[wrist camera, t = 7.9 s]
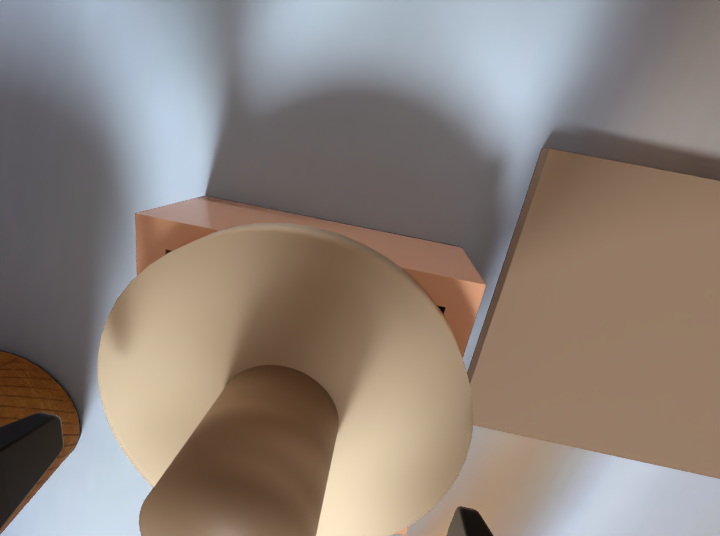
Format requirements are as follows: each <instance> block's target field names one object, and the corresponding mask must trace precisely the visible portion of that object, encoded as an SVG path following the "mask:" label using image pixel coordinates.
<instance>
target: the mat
mask: <svg viewBox="0 0 720 536" xmlns="http://www.w3.org/2000/svg"><path fill="white" fill-rule="evenodd" d="M467 374H468V379H469V383H470V388H471V392H472V400H473V417H474V419H473V425H475V426H479V427H484V428H488V429H493V430H498V431H502V432H507V433H511V434H516V435H521V436H525V437H530V438H534V439H539V440H544V441H548V442H553V443H558V444H562V445H567V446H571V447H576V448H581V449H585V450H590V451H594V452H599V453H604V454H608V455H613V456H617V457H622V458H627V459H631V460H636V461H640V462H645V463H650V464H654V465H659V466H664V467H668V468H673V469H677V470H682V471H687V472H691V473H696V474H700V475H705V476H710V477H714V478H719V479H720V181H718V180H713V179H707V178H702V177H697V176H692V175H686V174H681V173H676V172H671V171H665V170H660V169H655V168H650V167H644V166H639V165H634V164H629V163H623V162H618V161H613V160H608V159H602V158H597V157H592V156H587V155H581V154H576V153H571V152H566V151H560V150H555V149H548V148H542V150H541V153H540V156H539V159H538V162H537V165H536V168H535V171H534V174H533V177H532V180H531V183H530V186H529V189H528V192H527V195H526V198H525V201H524V204H523V207H522V210H521V213H520V216H519V219H518V222H517V225H516V228H515V231H514V234H513V237H512V240H511V243H510V246H509V249H508V252H507V255H506V259H505V262H504V265H503V268H502V271H501V274H500V277H499V280H498V283H497V286H496V289H495V292H494V295H493V298H492V301H491V304H490V307H489V310H488V313H487V316H486V319H485V322H484V325H483V328H482V331H481V334H480V337H479V340H478V343H477V346H476V349H475V352H474V355H473V358H472V361H471V364H470V367H469V370H468V373H467Z"/></svg>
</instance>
